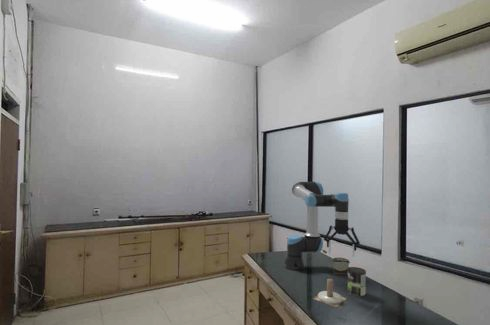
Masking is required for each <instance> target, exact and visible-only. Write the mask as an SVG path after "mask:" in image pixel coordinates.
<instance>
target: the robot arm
mask: <svg viewBox="0 0 490 325" xmlns="http://www.w3.org/2000/svg"><path fill="white" fill-rule="evenodd" d="M291 193H292V195H294V196H295V197H297V198H301V199H302V200H303V201H304V203H305V205H306V232H305V233H304V235H302V234H292V235H289V236H288V237H287V239H286V258H285V261H284V268H286V269H288V270H293V271H299V270H305V267H306V266H305V261H304V258H303V254H307V253H309V254H310V253H312V254H313V253H314V254H316V253H320V252H321V251H322V250H323V247H324V241H325V242H326V247H327V248H328V254H331V248H332V246H331V244H332V243H331V240H332V239H333V238H334V237H335V236H336V235H337V234H338V235H344V236H346V237H347V238H348V239H349V240H350V241H351V242H352V257H353V258H354V257H355V252H356V251H357V245H361V244H360V243H361V242H360V241H359V238H358V236H357V234H356V232H355V228H354V227H349V201H350V200H349V194H348V193H347V192H336V193H335V194H333V193H332V194H331V193H329V194H324V186H323V185H322V183H321V182H319V181H298V182H296V183H294V184H293V186H292V188H291ZM319 207H321V208H323V207H326V208H327V207H329V208H334V217H335V219H334V225H329V228H328V231H327V233H326V234H325V237H323V238H322V236H321V234H320V233H319ZM332 230H335V231H334V232H333V234H331V235H330V233H331V232H332ZM349 231H350V232H351V233H352V235H353V237H352V235H351V234H350V233H349ZM329 236H330V237H329ZM354 239H355V240H354Z"/></svg>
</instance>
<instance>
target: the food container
mask: <svg viewBox="0 0 490 325" xmlns="http://www.w3.org/2000/svg"><path fill="white" fill-rule="evenodd" d="M331 263H332V266H333V274H335V275H348V268H349V265H350V263H351V262H350V259H347V258H345V257H333V258H332V260H331Z"/></svg>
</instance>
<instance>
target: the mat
mask: <svg viewBox="0 0 490 325" xmlns="http://www.w3.org/2000/svg"><path fill="white" fill-rule="evenodd" d="M312 299H313V300H314V301H315V300H316V301H318V302H321V303H324V304H326V305H330V306H332V307H336V308H337V307H339V305H341V304H342V303H344V302H345V301H346V300H347V299H348V298H347V297H344V296H342V302H341V303H338V304H329V303H325V302H323V301H321V300H320V299H319V298H318V294H317V295H316V296H314V297H313V298H312Z"/></svg>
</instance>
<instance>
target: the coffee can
mask: <svg viewBox="0 0 490 325" xmlns="http://www.w3.org/2000/svg"><path fill="white" fill-rule="evenodd" d="M366 278H367V270H366V269H364V268H362V267H355V266H350V267H348V274H347V293H348V294H349V295H352V296H353V297H364V296H366V291H367V290H366V283H367V282H366V280H367V279H366Z"/></svg>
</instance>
